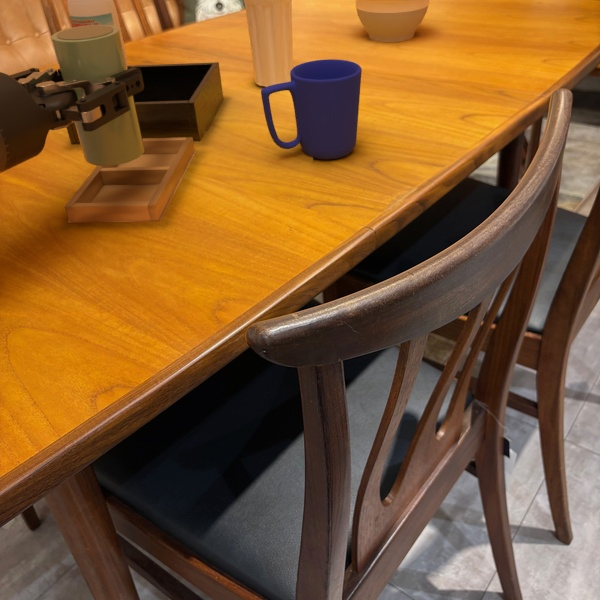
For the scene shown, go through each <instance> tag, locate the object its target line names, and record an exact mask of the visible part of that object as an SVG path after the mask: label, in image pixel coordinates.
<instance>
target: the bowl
mask: <svg viewBox="0 0 600 600" xmlns="http://www.w3.org/2000/svg"><path fill="white" fill-rule="evenodd" d="M429 5H430V0H355V9H356V14H357V17H358V18H359V22H360V23H361V25H362V26H363V28H364V29H365V30H366V32H367V34H368V39H370V40H371V41H375V42H381V43H397V42H403V41H404V42H405V41H408V40H411V39H412V38H414V37H415V32H416V30H417V29H418V28H419V26H420V25H421V24H422V22H423V20H424V18H425V16H426V14H427V12H428V8H429Z"/></svg>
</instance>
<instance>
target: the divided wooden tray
mask: <svg viewBox="0 0 600 600" xmlns="http://www.w3.org/2000/svg"><path fill="white" fill-rule="evenodd" d="M143 144H144V149H145V150H144V153H143V154H142V155H141V156H140V157H138V158H137V159H135V160H132V161H130V162H127V163H123V164H119V165H112V166H97V165H96V167H95V168H94V169H93V171H91V173H90V174H89V175H88V177H87V178H86V179H85V181H83V183H81V185H80V186H79V188H78V189H77V191H76V192H75V193H74V194H73V195H72V197H71V198H70V199H69V201H67V203H66V204H65V205H64V210H65V212H66V217H67V219H68V221H67V223H132V222H134V223H135V222H136V223H137V222H161V221H162V219H163V217H164V215H165V213H166V211H167V209H168V207H169V206H170V203H171V202H172V199H173V198H174V195H176V192H177V190H178V188H179V186H180V184H181V182H182V180H183V179H184V177H185V174H186V173H187V170H188V169H189V167H190V165H191V163H192V161H193V159H194V158H195V155H196V153H197V150H196V149H195V144H194V141H193V137H187V138H186V137H183V138H146V139H143Z"/></svg>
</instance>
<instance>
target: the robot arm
mask: <svg viewBox="0 0 600 600" xmlns="http://www.w3.org/2000/svg"><path fill="white" fill-rule="evenodd" d="M76 88H81V91H82V95H83V96H81V97H80V98H81V99H80V100H78V97H77V94H76V91H75V90H74V89H76ZM100 88H102V89H100ZM96 89H100V90H98V91H96V92H94V93H93V91H94V90H96ZM143 89H144V82H143V77H142V72H141V70H140V69H139V68H133V67H132V68H129V69H127V70H125V71H122V72H120V73H117V74H115V75H112V76H110V77H106V78H103V79H99V80H94V81H88V80H87V79H86V78H84V77H80V78H76V79H71V80H66V81H63V79H62V75H61V72H60V68H58V69H57V68H52V67H48V68H46V69H45V70H42V71H40V68H38V67H30V68H29V69H26V70H23V71H20V72H19V71H18V72H17V73H13V74H7V73H4V72H1V71H0V174H2V173H3V172H7V171H9V170H10V169H12V168H14V167H16V166H18V165H21V164H23V163H25V162H27V161H29V160H31V159H33V158H35V157H37V156H38V155H39V154H41V153H42V151H43V150H44V148H45V145H46V141H47V138H48V135H49V132H50V131H57V130H63V129H67V128H66V127H68V126H69V124H71V123H75V122H81V124H82V127H83V130H84V131H89V132H91V131H94V130H96V129H98V128H100V127H101V126H103V125H105V124H107V123H108V122H110V121H112V120H114V119H115V118H117V117H119V116H121V115H122V114H124V113H126V112H128V111H129V110H130V105H129V101H128V97H130V96H132V95H135V94H137V93H139V92H141V91H143Z"/></svg>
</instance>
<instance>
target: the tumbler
mask: <svg viewBox="0 0 600 600" xmlns="http://www.w3.org/2000/svg"><path fill="white" fill-rule="evenodd" d="M50 38H51V42H52V45H53V49H54V53H55V57H56V61H57V64H58V67H59V68H58V69H60V72H61V75H62V79H63V81H66V80H71V79H76V78H80V77H84V78H86V79H87V80H88V81H94V80H99V79H103V78H106V77H110V76H112V75H115V74H117V73H120V72H122V71H125V70H127V69H128V68H127V64H126V59H125V54H124V49H123V45H122V40H121V35H120V31H119V28H118V27H116V26H111V25H87V26H79V27H73V28H72V27H69V28H65V29H62V30H59V31H56V32H55V33H53V34H52V35H51V36H50ZM100 89H102V88H100ZM100 89H96V90H94V91H93V93H94V92H96V91H98V90H100ZM74 90H75V91H76V94H77V97H78V100H80V99H81V98H80V97H81V96H83V95H82V91H81V88H76V89H74ZM128 101H129V105H130V110H129V111H128V112H126V113H124V114H122V115H121V116H119V117H117V118H115V119H114V120H112V121H110V122H108V123H107V124H105V125H103V126H101V127H100V128H98V129H96V130H94V131H91V132H89V131H84V130H83V127H82V124H81V122H75V126H76V129H77V133H78V137H79V140H80V144H79V145H80V147H81V151H82V154H83V158H84V160H85V162H86V163H88V164H90V165H93V166H96V167H97V166H112V165H119V164H123V163H127V162H130V161H132V160H135V159H137V158H138V157H140V156H141V155H142V154H143V153H144V150H145V149H144V144H143V139H142V134H141V130H140V125H139V120H138V115H137V111H136V106H135V101H134V97H133V95H132V96H130V97H128Z"/></svg>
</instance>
